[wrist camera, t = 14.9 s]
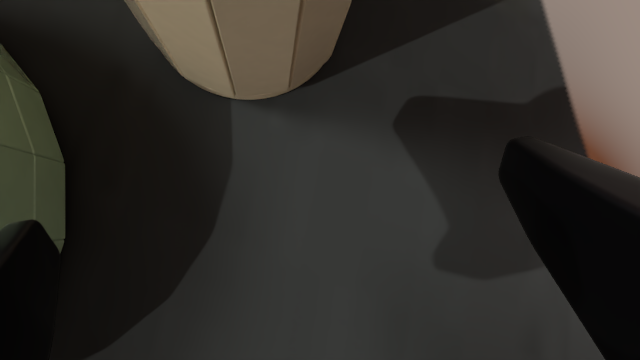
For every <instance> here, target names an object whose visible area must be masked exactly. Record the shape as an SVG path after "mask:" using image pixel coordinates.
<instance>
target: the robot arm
mask: <svg viewBox="0 0 640 360" xmlns="http://www.w3.org/2000/svg"><path fill="white" fill-rule="evenodd" d="M499 179H500V182H501V185H502V187H503V189H504V191H505V193H506V195H507V197H508V199H509V201H510V203H511V205H512V207H513V209H514V211H515V213H516V215H517V217H518V219H519V221H520V223H521V225H522V227H523V229H524V231H525V233H526V235H527V237H528V238H529V240H530V242H531V244H532V245H533V247H534V249H535V250H536V252H537V254H538V255H539V257H540V258H541V260H542V261H543V263H544V265H545V266H546V268H547V269H548V271H549V272H550V274H551V276H552V277H553V279H554V280H555V282H556V283H557V285H558V286H559V288H560V290H561V291H562V293H563V294H564V296H565V297H566V299H567V300H568V302H569V304H570V305H571V307H572V308H573V310H574V311H575V313H576V315H577V316H578V318H579V319H580V321H581V322H582V324H583V325H584V327H585V329H586V330H587V332H588V333H589V335H590V336H591V338H592V340H593V341H594V343H595V344H596V346H597V347H598V349H599V350H600V352H601V354H602V355H603V357H604V358H605V360H640V178H639V177H637V176H634V175H632V174H629V173H627V172H624V171H621V170H619V169H616V168H613V167H611V166H608V165H605V164H603V163H600V162H597V161H594V160H592V159H590V158H587V157H584V156H582V155H579V154H576V153H574V152H571V151H568V150H566V149H563V148H560V147H558V146H555V145H553V144H550V143H547V142H545V141H542V140H539V139H537V138H534V137H530V136H526V137H520V138H514V139H511V140H510V141H509V142H508V143H507V145H506V148H505V152H504V155H503V158H502V162H501V165H500V168H499ZM60 265H61V257H60V253H59V250H58V248H57V247H56V245H55V244H54V242H53V241H52V239H51V238H50V236H49V235H48V233H47V232H46V230H45V229H44V227H43V226H42V225H41V223H40V222H38V221H37V220H33V219H29V220H23V221H17V222H12V223H9V224H7V225H6V226H4V227H3V228H2V229H1V230H0V360H49V355H50V350H51V345H52V340H53V333H54V325H55V315H56V305H57V295H58V285H59V275H60Z"/></svg>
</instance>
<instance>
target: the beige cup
mask: <svg viewBox="0 0 640 360" xmlns="http://www.w3.org/2000/svg"><path fill="white" fill-rule="evenodd" d="M124 1H125V2H126V4H127V5H128V7H129V8H130V10H131V11H132V13H133V14H134V16H135V17H136V19H137V20H138V22H139V23H140V25H141V26H142V28H143V29H144V31H145V32H146V34H147V35H148V37H149V38H150V39H151V40H152V42H153V43H154V44H155V45H156V46H157V48H158V49H159V50H160V51H161V52H162V54H163V55H164V57H165V58H166V59H167V61H168V62H169V63H170V64H171V65H172V66H173V67H174V68H175V70H176V71H177V72H178V73H179V74H180V75H181V76H183V77H184V78H185V79H187V80H188V81H190V82H192V83H193V84H195V85H196V86H198V87H200V88H202V89H204V90H206V91H209V92H211V93H214V94H217V95H220V96H223V97H228V98H234V99H245V100H254V99H265V98H269V97H274V96H278V95H281V94H283V93H286V92H289V91H291V90H293V89H295V88H297V87H299V86H300V85H302V84H303V83H305V82H306V81H307V80H309V79H310V78H311V77H312V76H313V75H314V74H316V73H317V72H318V71H319V69H320V68H321V67H322V66H323V65H324V63H325V62H327V61H328V60H329V57H331V55H332V53H333V50H334V47H335V45H336V42H337V39H338V37H339V34H340V31H341V29H342V26H343V24H344V21H345V18H346V16H347V13H348V10H349V8H350V5H351V2H352V0H124Z"/></svg>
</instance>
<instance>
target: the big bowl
mask: <svg viewBox="0 0 640 360" xmlns="http://www.w3.org/2000/svg"><path fill="white" fill-rule="evenodd" d="M63 162H64V159H63V156H62V153H61V150H60V148H59V145H58V142H57V139H56V136H55V134H54V131H53V128H52V125H51V122H50V120H49V117H48V114H47V111H46V108H45V106H44V103H43V100H42V97H41V95H40V93H39V90H38V89H37V88H36V86H35V85H34V84H33V83H32V82H31V80H30V79H29V78H28V77H27V75H26V74H25V73H24V72H23V70H22V69H21V68H20V67H19V65H18V64H17V63H16V62H15V61H14V59H13V58H12V57H11V56H10V54H9V53H8V52H7V51H6V49H5V48H4V47H3V46H2V44H1V43H0V230H1V229H2V228H3V227H4V226H6V225H7V224H9V223H12V222H17V221H23V220H29V219H33V220H37V221H38V222H40V223H41V225H42V226H43V227H44V229H45V230H46V232H47V233H48V235H49V236H50V238H51V239H52V241H53V242H54V244H55V245H56V247H57V248H58V250H59V253H61V250H62V247H63V244H64V240H63V239H65V164H64V163H63Z"/></svg>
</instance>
